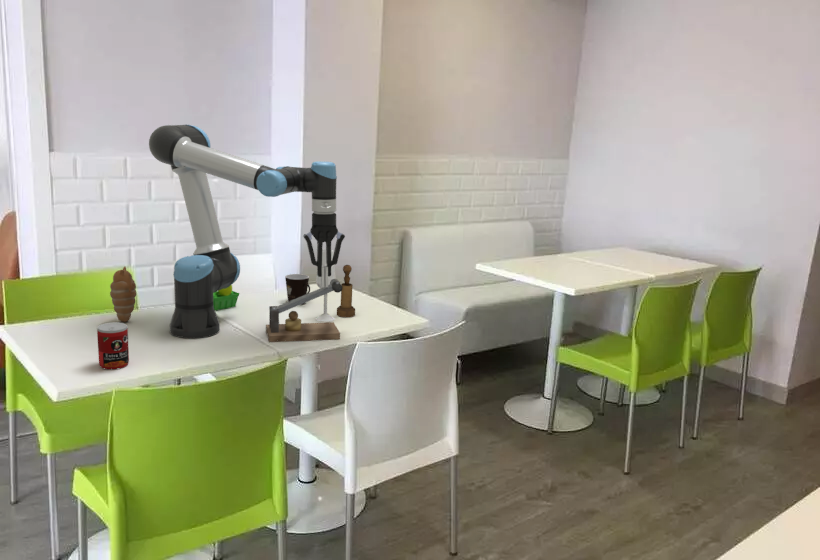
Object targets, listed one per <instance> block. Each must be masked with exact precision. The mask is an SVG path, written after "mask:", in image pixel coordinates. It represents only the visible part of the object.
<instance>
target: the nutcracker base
mask: <svg viewBox="0 0 820 560" xmlns="http://www.w3.org/2000/svg"><path fill="white" fill-rule="evenodd" d="M277 306H278V305H270V306H269V307H268V308H269V309H268V310H269V317H268V318H269V322H268V324H266V325H265V332H266V335H267V338H268V342H269V343H281V342H283V343H286V342H302V341H303V342H306V341H307V342H308V341H329V340H330V341H331V340H332V341H333V340H334V341H335V340H336V341H337V340H341V332H340V331H339V329H338V327H337V325H336V324H335V322H334V321H328V322H304V323H303V322H302V319H301V318H299V314H298V312H297V311H295V310H291V311H290V312H289V313H288V318H286V319H285V321H284V322H285V323H280V313H279V310H271V313H270V308H271V307H277Z"/></svg>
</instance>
